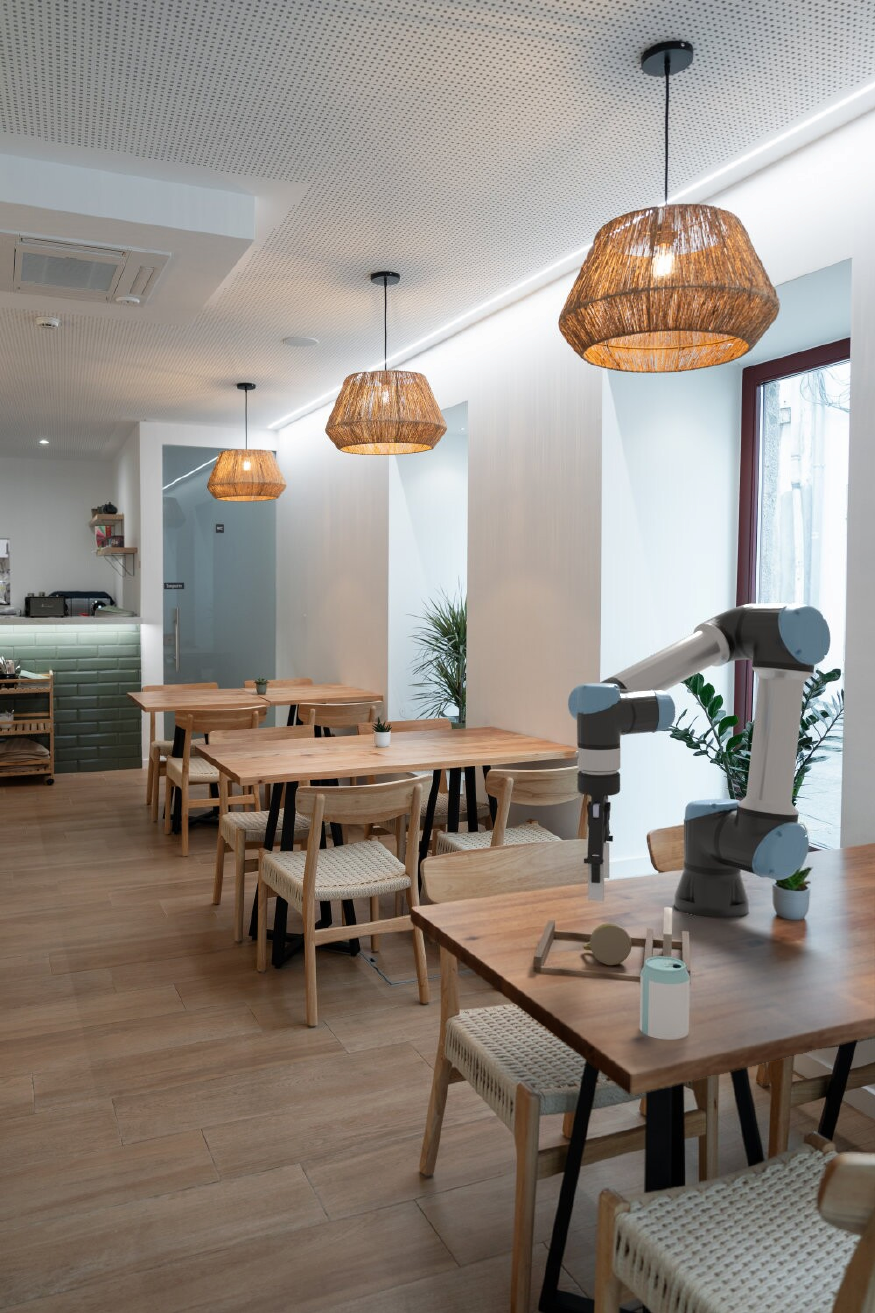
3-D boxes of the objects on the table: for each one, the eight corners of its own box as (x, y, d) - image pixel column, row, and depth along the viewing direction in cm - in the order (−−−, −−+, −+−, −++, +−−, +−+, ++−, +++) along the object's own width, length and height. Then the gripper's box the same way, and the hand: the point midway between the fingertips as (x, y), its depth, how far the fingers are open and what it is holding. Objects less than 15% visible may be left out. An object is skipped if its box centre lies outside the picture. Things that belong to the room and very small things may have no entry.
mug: (625, 945, 182) (641, 911, 176) (616, 988, 174) (632, 954, 168) (586, 930, 183) (600, 896, 177) (575, 972, 175) (590, 938, 169)
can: (668, 1029, 150) (670, 951, 149) (698, 1048, 143) (700, 967, 143) (629, 1037, 147) (631, 958, 146) (658, 1057, 140) (659, 974, 140)
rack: (688, 951, 183) (689, 905, 182) (690, 993, 163) (691, 941, 163) (548, 939, 189) (548, 894, 188) (533, 978, 170) (534, 928, 169)
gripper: (583, 758, 188) (584, 867, 189) (570, 783, 164) (570, 909, 165) (623, 759, 186) (624, 869, 188) (616, 785, 162) (616, 912, 163)
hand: (599, 888), depth 176 cm, fingers open, 13 cm apart
